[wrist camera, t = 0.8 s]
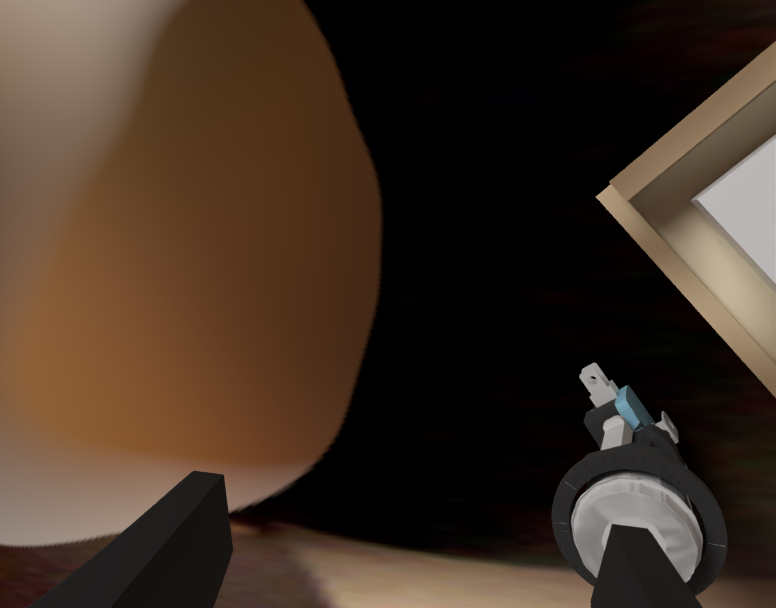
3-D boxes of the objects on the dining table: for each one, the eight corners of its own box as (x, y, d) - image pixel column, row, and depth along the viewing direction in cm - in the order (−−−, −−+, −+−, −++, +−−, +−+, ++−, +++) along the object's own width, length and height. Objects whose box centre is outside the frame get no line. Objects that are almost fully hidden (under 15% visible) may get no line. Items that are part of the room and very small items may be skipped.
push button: (543, 389, 29) (492, 471, 20) (641, 333, 27) (634, 397, 18) (623, 505, 28) (608, 645, 19) (731, 458, 26) (771, 592, 17)
